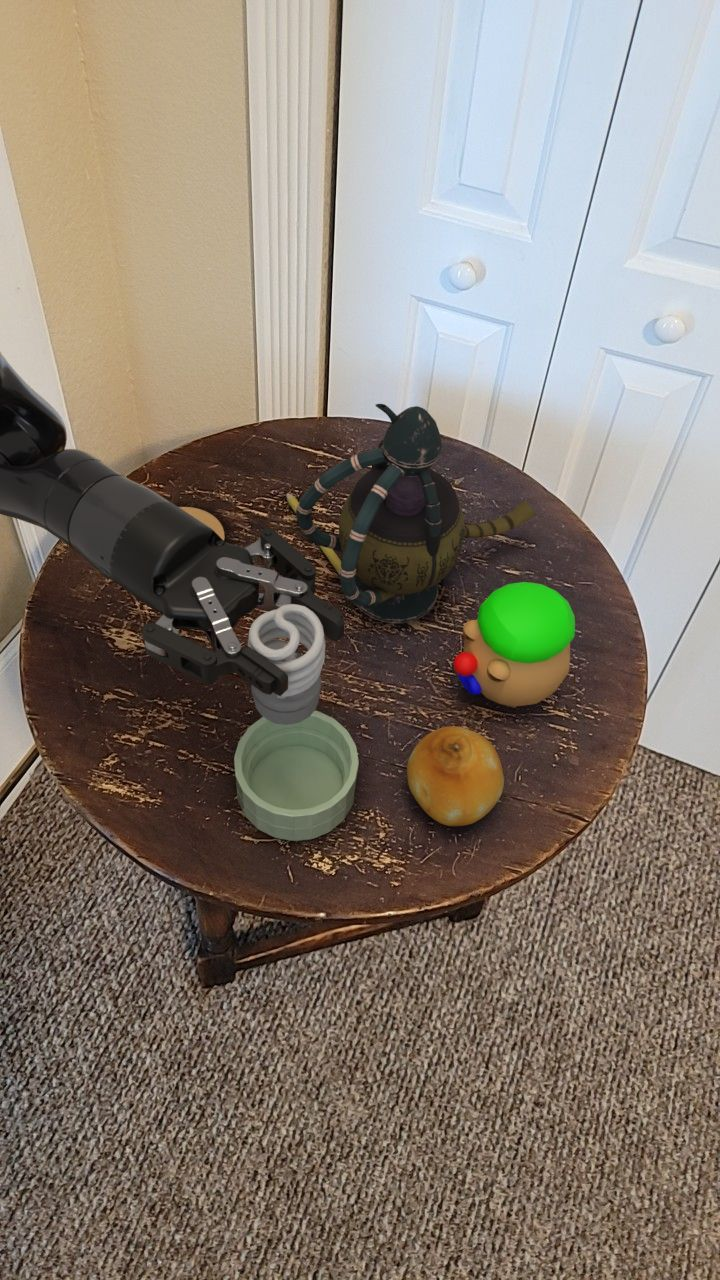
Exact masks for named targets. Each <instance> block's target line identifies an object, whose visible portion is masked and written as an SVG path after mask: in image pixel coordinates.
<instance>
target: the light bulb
mask: <svg viewBox="0 0 720 1280" xmlns="http://www.w3.org/2000/svg"><path fill="white" fill-rule="evenodd" d="M283 639H288V640H289V641H288V642H287V641H286V640H283ZM300 644H301V645H303V646H304V647H305V648H306V649H307V652H305V653H304V654H302V653H299V652H296V651H297V649H298V647H299V645H300ZM247 646H249V647H250V648H252V649H253V650H254V651H256V652H257V653H259V654H260V655H262V656H263V657H264V658H266V659H267V660H269V661H270V662H272V663H273V664H275V665H276V666H277V667H279V668H280V669H282V670H283V671H284V672H285V673H286V674H287V676H288V690H286V691H285V692H284V693H283V694H282V695H281V696H278V695H276V694H275V693H274V692H273V693H272V694H271V695H269V694H265V693H262V692H261V691H260V690H258V689H257V688H255V687H254V686H253V685H251V684H250V686H251V688H250V689H251V695H252V698H253V701H254V705H255V709H256V710H257V711H258V713H259V714H260V716H262V717H265V718H266V719H267V720H269V721H271V722H273V723H276V724H283V725H290V724H295V723H299V722H301V721H303V720H305V719H306V718H308V717H310V716H311V714H312V713H313V712H314V711H316V709H317V706H318V704H319V702H320V695H321V690H322V685H323V682H322V678H321V674H322V670H323V666H324V664H325V659H326V639H325V635H324V630H323V626H322V624H321V622H320V620H319V618H318V617H317V616H316V615H315V614H314V613H313V611H311V610H310V609H308V608H307V607H305V606H301V605H296V604H288V605H283V606H281V607H280V608H278V609H275V610H272V611H265V612H263V613H261V614H260V615H259V616H258V617H257V618H255V619H254V620H253V622H252V624H251V625H250V628H249V631H248V639H247Z"/></svg>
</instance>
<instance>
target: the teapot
mask: <svg viewBox="0 0 720 1280" xmlns="http://www.w3.org/2000/svg"><path fill="white" fill-rule="evenodd" d="M375 407H376V408H377V409H379V410H380V411H382V412H383V413H384V414H385V415H386V416H387V417H388V418H389V420H390V422H391V423H390V424H389V426H387V429H386V432H385V434H384V437H383V438H382V439H381V440H380V441H379V443H378V446H377V447H376V448H374V449H369V450H366V451H362V452H360V453H357V454H355V455H352V456H351V457H348V458H346V459H344V460H342V461H341V462H339V463H337V464H336V465H334V466H332V467H331V468H330V469H328V470H327V471H325V472H324V473H322V475H320V476H319V477H318V478H317V480H316V481H314V482H313V483H312V484H310V486H309V487H308V488H307V489H306V491H305V492H304V493H303V494H302V495H301V497H300V499H299V501H298V502H299V504H298V507H297V510H296V513H295V515H296V520H297V525H298V527H299V528H300V530H301V531H302V533H303V534H304V535H303V536H305V537H307V539H309V540H310V541H312V542H313V543H314V544H316V545H317V546H318V547H319V546H323V547H326V548H330V549H333V551H338V552H340V553H342V558H341V569H340V575H339V581H340V586H341V590H342V593H343V595H344V596H345V598H346V600H347V602H349V603H351V604H353V605H355V606H356V607H357V608H358V609H359V610H360V611H361V612H362V614H363V613H364V615H367V616H368V617H370V618H372V619H373V620H376V621H379V622H383V623H387V624H405V623H409V622H415V621H417V620H419V619H421V618H422V617H424V616H426V615H428V613H429V612H430V611H431V610H432V609H433V607H434V606H435V605H436V602H437V600H438V596H439V584H438V583H440V581H442V580H443V579H445V578H446V576H448V574H449V573H450V572H451V571H452V569H454V567H455V566H456V563H457V561H458V558H459V556H460V555H461V551H462V548H463V545H464V542H465V539H478V538H487V537H496V536H497V535H501V534H503V533H506V532H508V531H511V530H513V529H515V528H517V527H519V526H520V525H522V524H524V523H526V522H527V521H529V520H530V519H532V518H534V517H536V516H537V515H538V514H537V513H536V512H535V511H534V510H533V508H532V507H531V506H530V505H529V504H528V503H527V501H526V500H525V499H523V500H522V501H521V502H519V504H518V505H517V506H516V507H515V508H514V509H513V510H511V511H510V512H508V513H506V514H504V515H502V516H499V517H497V518H494V519H491V520H487V521H485V522H482V523H476V524H466V523H465V517H464V513H463V509H462V505H461V502H460V498H459V497H458V494H457V492H456V490H455V488H454V487H453V485H452V483H451V482H450V481H449V480H447V479H446V478H445V477H444V476H443V475H442V474H441V473H439V472H438V471H435V470H434V469H431V467H433V465H434V464H435V463H436V462H437V461H438V460H439V458H440V457H441V454H442V450H443V443H442V437H441V433H440V429H439V427H438V425H437V422H436V420H435V418H433V416H432V415H431V414H430V413H429V412H428V411H427V410H426V408H423V407H422V406H418V405H416V406H409V407H408V408H406V409H404V410H403V411H401V412H399V413H398V414H396V413H395V411H393V410H392V409H391V408H390V407H389V406H387V405H386V403H385V404H384V403H375ZM388 463H389V464H388ZM368 467H370V468H371V470H368V471H366V473H364V475H362V476H361V477H360V478H359V479H358V480H357V482H356V483H355V484H354V485H353V487H352V489H350V490H351V491H350V492H349V493H348V496H347V497H346V500H345V502H344V504H343V506H342V508H341V510H340V513H339V519H338V536H336V535H333V534H330V533H327V532H323V531H322V530H320V529H319V528H318V527H317V526H316V524H315V522H314V521H313V518H312V510H313V508H314V506H315V505H316V504H317V502H318V501H319V500H320V499H321V498H322V497H323V496H324V495H325V494H326V493H327V492H328V491H329V490H330V489H331V488H333V486H335V485H336V484H338V483H339V482H341V481H342V480H344V479H346V478H347V477H349V476H350V475H352V474H354V473H356V472H359V471H361V470H363V469H365V468H368ZM317 528H318V529H317Z"/></svg>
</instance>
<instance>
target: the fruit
mask: <svg viewBox="0 0 720 1280" xmlns="http://www.w3.org/2000/svg"><path fill="white" fill-rule="evenodd" d="M406 766H407V767H406V777H407V778H406V779H407V784H408V788H409V790H410V792H411V795H412V796H413V798H414V799H415V801H416V802H417V804H418V805H419V807H420V808H421V809H422V810H423V811H424V812H425V813H426V814H427V815H428V816H429V818H431V819H432V820H434V821H436V822H438V823H439V824H441V825H444V826H448V827H462V826H469V825H472V824H474V823H476V822H478V821H479V820H482V819H483V818H484V817H486V815H487V814H488V813H490V812H491V811H492V809H493V808H494V807H495V806H496V804H497V803H498V802H499V800H500V798H501V796H502V794H503V790H504V787H505V786H504V785H505V777H504V776H505V775H504V771H503V767H502V762H501V759H500V757H499V754H498V752H497V750H496V748H495V747H494V745H493V744H492V742H491V741H490V740H489V739H487V738H486V737H485V736H483V735H481V734H480V733H478V732H476V731H473V730H471V729H468V728H466V727H463V726H458V725H450V726H448V725H447V726H443V727H440V728H438V729H435V730H433V731H431V732H429V733H427V734H426V735H425V736H424V737H423V738H422V739H420V741H419V742H418V743H417V744H416V746H415V747H414V748H413V750H412V751H411V753H410V755H409V758H408V760H407V765H406Z"/></svg>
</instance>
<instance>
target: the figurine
mask: <svg viewBox="0 0 720 1280" xmlns="http://www.w3.org/2000/svg"><path fill="white" fill-rule="evenodd" d="M462 627H463V628H462V633H461V634H462V636H463V638H464V639H463V640H464V641H463V649H462V650H463V652H460V653H458V654H457V655H456V656H455V657H454V660H453V668H454V671H455V672H456V674H457V677H458V679H459V681H460V682H461V685H462V686H463V687H464V689H465V690H466V691H467V692H468V693H469V694H471V695H474V696H476V695H477V696H478V695H480V694H482V695H483V697H485V698H486V699H487V700H490V701H492V702H494V703H496V704H499V705H503V706H506V707H510V708H515V707H522V706H524V707H525V706H530V705H531V706H532V705H536V704H538V703H540V702H542V701H543V700H545V699H547V698H548V697H550V696H552V695H553V694H554V693H555V692H556V690H557V689H558V688H559V687H560V685H561V684H562V683H563V682H564V680H565V678H566V677H567V676H568V674H569V673H570V668H571V667H570V665H571V642H572V641H573V640H574V638H575V637H576V636H575V635H576V618H575V614H574V612H573V610H572V607H571V604H570V602H569V601H568V600H567V599H566V598H565V597H564V596H563V595H561V594H560V592H558V591H557V590H555V589H554V588H551V587H548V586H547V585H544V584H542V583H536V582H529V581H520V582H513V583H507V584H506V585H503V586H501V587H500V588H497V589H496V590H493V591H492V592H491V593H490V595H489V596H487V598H486V599H485V600H484V601H483V603H482V604H480V605H479V607H478V614H477V618H476V619H471V620H468V621H466V622H465V623H464V624H463V626H462Z"/></svg>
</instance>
